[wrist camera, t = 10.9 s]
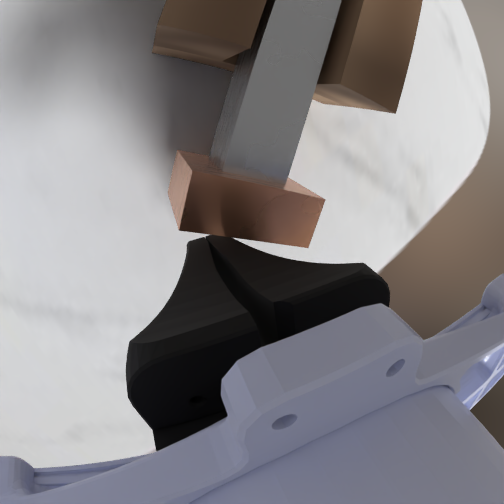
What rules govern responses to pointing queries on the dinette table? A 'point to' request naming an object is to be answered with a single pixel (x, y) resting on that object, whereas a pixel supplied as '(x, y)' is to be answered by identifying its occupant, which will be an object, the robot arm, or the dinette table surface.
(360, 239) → the dinette table surface
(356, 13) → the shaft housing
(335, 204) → the dinette table surface
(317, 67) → the shaft
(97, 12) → the dinette table surface
